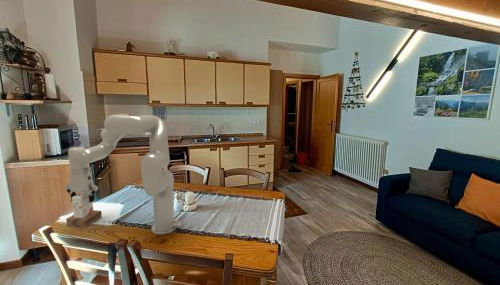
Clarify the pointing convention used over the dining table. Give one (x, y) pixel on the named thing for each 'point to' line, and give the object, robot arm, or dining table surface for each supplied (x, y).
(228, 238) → the dining table surface
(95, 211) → the walnut block
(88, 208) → the ink cartridge box
